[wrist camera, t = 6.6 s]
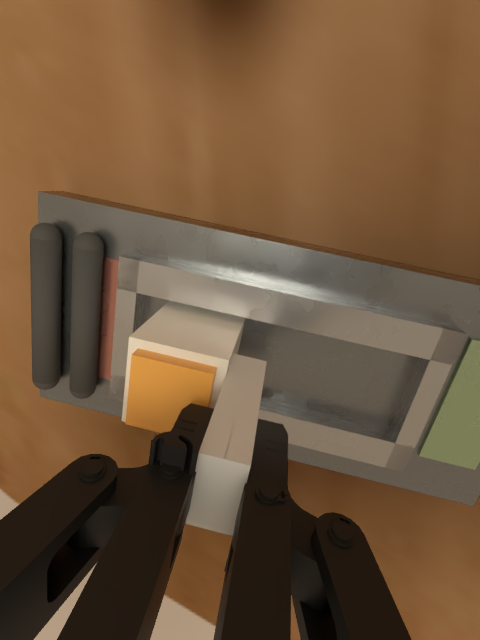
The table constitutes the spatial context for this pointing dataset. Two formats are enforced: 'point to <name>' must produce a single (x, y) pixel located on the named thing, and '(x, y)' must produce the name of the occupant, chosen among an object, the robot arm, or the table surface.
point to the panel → (299, 338)
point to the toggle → (177, 363)
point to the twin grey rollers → (49, 308)
